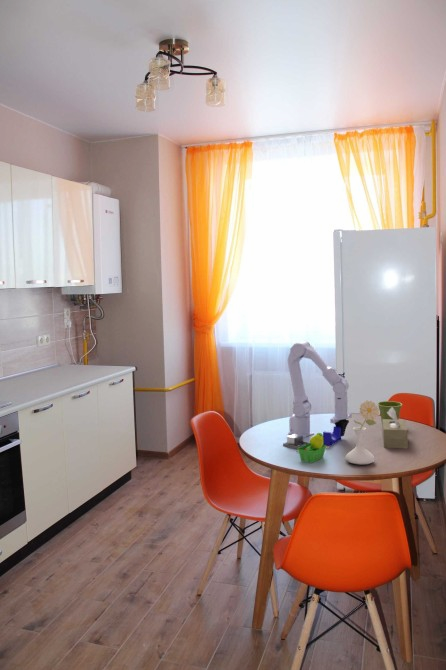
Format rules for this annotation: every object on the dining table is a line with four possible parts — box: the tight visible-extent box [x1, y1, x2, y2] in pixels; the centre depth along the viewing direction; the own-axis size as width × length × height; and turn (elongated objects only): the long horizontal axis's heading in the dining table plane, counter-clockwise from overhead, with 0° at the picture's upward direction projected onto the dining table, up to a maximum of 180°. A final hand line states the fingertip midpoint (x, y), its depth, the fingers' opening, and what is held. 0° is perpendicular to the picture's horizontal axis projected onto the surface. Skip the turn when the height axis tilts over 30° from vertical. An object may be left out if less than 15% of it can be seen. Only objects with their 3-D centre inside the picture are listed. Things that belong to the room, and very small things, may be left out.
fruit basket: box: [297, 432, 327, 464], centre depth 222 cm, size 11×9×11 cm
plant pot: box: [376, 400, 403, 422], centre depth 270 cm, size 12×12×11 cm
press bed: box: [282, 440, 331, 453], centre depth 240 cm, size 17×15×1 cm
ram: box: [286, 434, 304, 447], centre depth 243 cm, size 5×6×4 cm
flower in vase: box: [344, 400, 380, 465], centre depth 216 cm, size 13×11×25 cm
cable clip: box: [322, 425, 342, 447], centre depth 245 cm, size 12×4×6 cm, turn 143°
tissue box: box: [381, 407, 409, 449], centre depth 243 cm, size 19×10×16 cm, turn 166°
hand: (341, 435), depth 251 cm, fingers closed
